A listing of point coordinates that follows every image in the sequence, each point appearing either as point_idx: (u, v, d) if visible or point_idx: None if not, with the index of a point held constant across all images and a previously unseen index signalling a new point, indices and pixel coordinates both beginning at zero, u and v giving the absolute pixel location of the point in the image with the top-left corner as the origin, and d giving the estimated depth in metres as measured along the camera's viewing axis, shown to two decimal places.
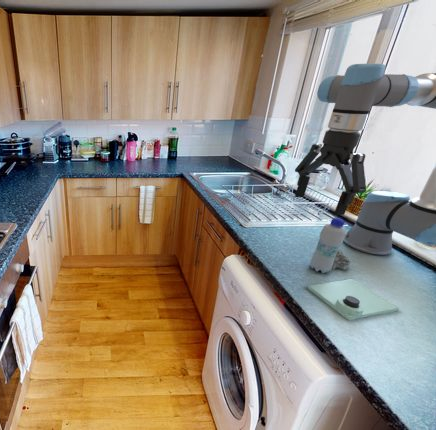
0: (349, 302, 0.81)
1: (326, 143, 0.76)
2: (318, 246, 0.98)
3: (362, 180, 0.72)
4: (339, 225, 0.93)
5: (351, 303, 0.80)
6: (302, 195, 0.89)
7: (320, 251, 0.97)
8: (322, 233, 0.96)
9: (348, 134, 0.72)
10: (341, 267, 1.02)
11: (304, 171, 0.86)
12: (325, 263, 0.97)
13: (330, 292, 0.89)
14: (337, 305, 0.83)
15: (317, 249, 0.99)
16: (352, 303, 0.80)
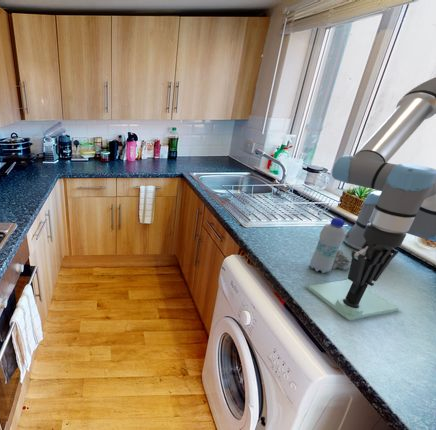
0: (348, 304, 0.81)
1: None
2: (318, 246, 0.98)
3: (354, 274, 0.76)
4: (339, 225, 0.93)
5: (350, 305, 0.80)
6: None
7: (320, 251, 0.97)
8: (322, 233, 0.96)
9: (368, 227, 0.73)
10: (341, 267, 1.02)
11: None
12: (326, 263, 0.97)
13: (330, 292, 0.89)
14: (337, 305, 0.83)
15: (317, 249, 0.99)
16: (351, 305, 0.80)
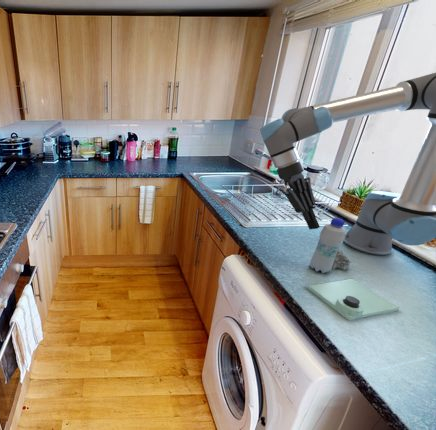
0: (349, 302, 0.81)
1: None
2: (318, 246, 0.98)
3: (296, 205, 0.95)
4: (339, 225, 0.93)
5: (351, 303, 0.80)
6: None
7: (320, 251, 0.97)
8: (322, 233, 0.96)
9: (277, 170, 0.98)
10: (341, 267, 1.02)
11: None
12: (326, 263, 0.97)
13: (330, 292, 0.89)
14: (337, 305, 0.83)
15: (317, 249, 0.99)
16: (352, 303, 0.80)
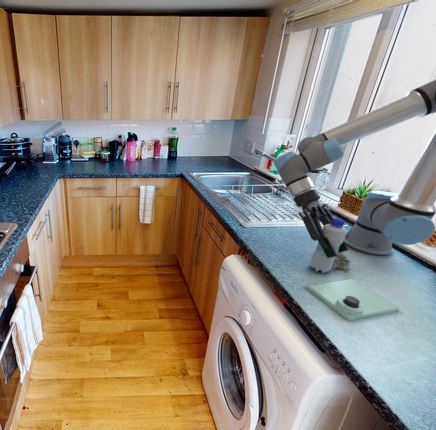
0: (349, 302, 0.81)
1: None
2: (318, 246, 0.98)
3: (312, 229, 0.95)
4: (339, 225, 0.93)
5: (351, 303, 0.80)
6: (344, 249, 0.97)
7: (320, 251, 0.97)
8: None
9: (294, 198, 1.02)
10: (341, 267, 1.02)
11: None
12: (325, 263, 0.97)
13: (330, 292, 0.89)
14: (337, 305, 0.83)
15: (317, 249, 0.99)
16: (352, 303, 0.80)
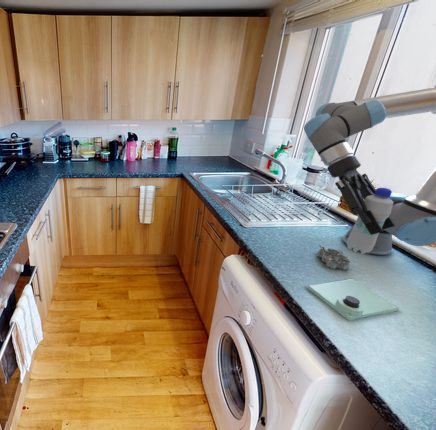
0: (349, 302, 0.81)
1: None
2: (358, 222, 0.84)
3: (352, 201, 0.81)
4: (386, 195, 0.78)
5: (351, 303, 0.80)
6: (390, 225, 0.82)
7: (361, 227, 0.83)
8: None
9: (329, 167, 0.87)
10: (341, 267, 1.02)
11: None
12: (367, 241, 0.83)
13: (330, 292, 0.89)
14: (337, 305, 0.83)
15: (356, 225, 0.85)
16: (352, 303, 0.80)
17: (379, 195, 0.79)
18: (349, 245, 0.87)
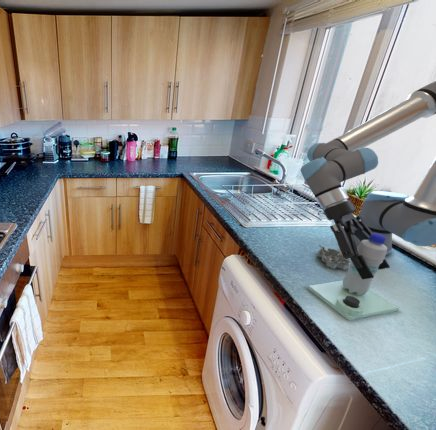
0: (349, 302, 0.81)
1: None
2: (353, 265, 0.86)
3: (344, 246, 0.82)
4: (380, 242, 0.80)
5: (351, 303, 0.80)
6: (385, 266, 0.85)
7: (356, 271, 0.85)
8: (359, 250, 0.84)
9: (325, 210, 0.89)
10: (341, 267, 1.02)
11: None
12: (362, 284, 0.85)
13: (330, 292, 0.89)
14: (337, 305, 0.83)
15: (352, 268, 0.87)
16: (352, 303, 0.80)
17: (373, 241, 0.81)
18: (345, 286, 0.89)
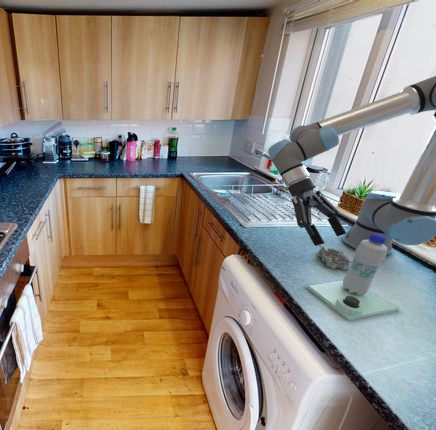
0: (349, 302, 0.81)
1: None
2: (353, 265, 0.86)
3: (300, 215, 0.91)
4: (380, 242, 0.80)
5: (351, 303, 0.80)
6: (342, 233, 0.95)
7: (356, 271, 0.85)
8: (359, 250, 0.84)
9: (288, 187, 0.98)
10: (341, 267, 1.02)
11: None
12: (362, 284, 0.85)
13: (330, 292, 0.89)
14: (337, 305, 0.83)
15: (352, 268, 0.87)
16: (352, 303, 0.80)
17: (374, 241, 0.81)
18: (345, 286, 0.89)
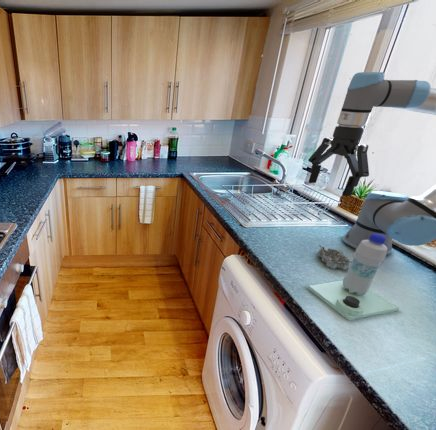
0: (349, 302, 0.81)
1: (336, 136, 0.92)
2: (353, 265, 0.86)
3: (366, 166, 0.88)
4: (380, 242, 0.80)
5: (351, 303, 0.80)
6: (314, 181, 1.06)
7: (356, 271, 0.85)
8: (359, 250, 0.84)
9: (354, 129, 0.88)
10: (341, 267, 1.02)
11: (316, 160, 1.02)
12: (362, 284, 0.85)
13: (330, 292, 0.89)
14: (337, 305, 0.83)
15: (352, 268, 0.87)
16: (352, 303, 0.80)
17: (374, 241, 0.81)
18: (345, 286, 0.89)
